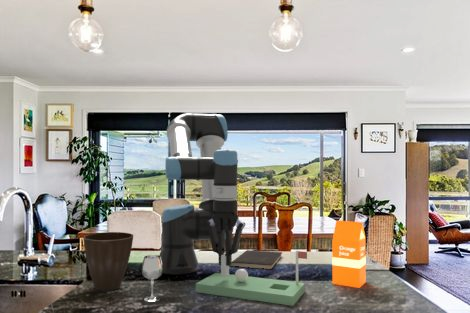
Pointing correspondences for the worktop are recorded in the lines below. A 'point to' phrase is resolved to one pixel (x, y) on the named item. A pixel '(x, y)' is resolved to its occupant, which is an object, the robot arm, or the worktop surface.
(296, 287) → the putting deck
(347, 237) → the orange juice
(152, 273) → the wineglass
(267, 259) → the hardcover book
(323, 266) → the worktop surface
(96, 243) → the plant pot
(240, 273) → the ball
